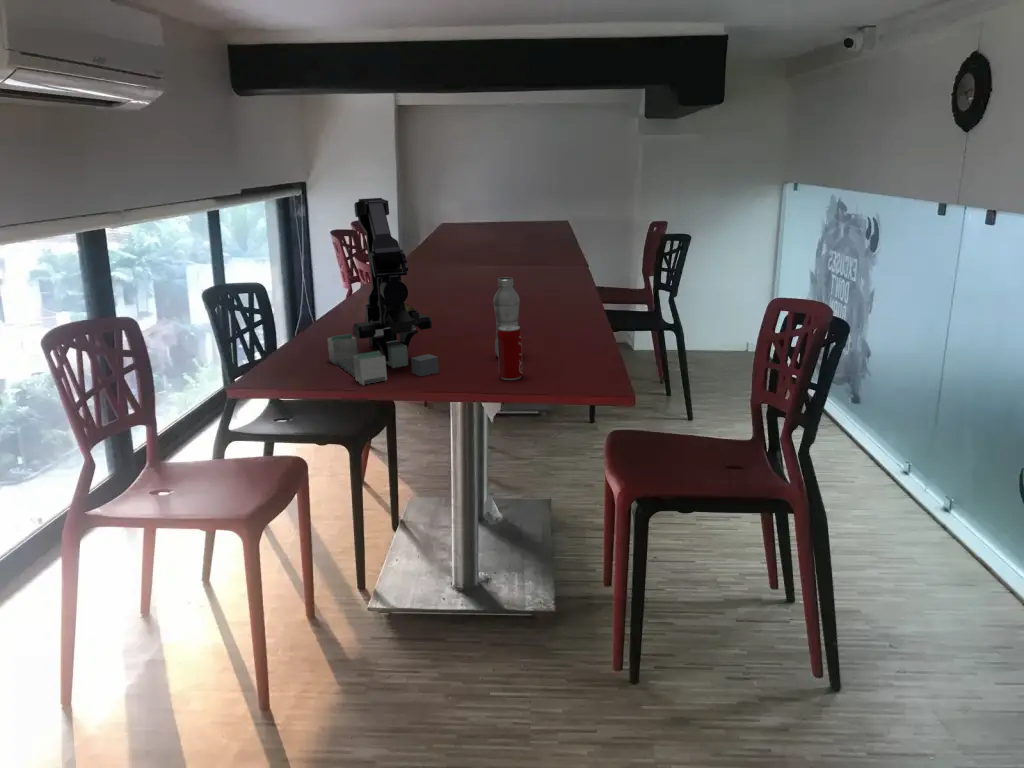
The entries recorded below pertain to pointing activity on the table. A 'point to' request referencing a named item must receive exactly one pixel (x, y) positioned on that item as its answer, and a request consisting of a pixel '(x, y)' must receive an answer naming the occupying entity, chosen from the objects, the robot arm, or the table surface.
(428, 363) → the block
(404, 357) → the block
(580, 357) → the table surface
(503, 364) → the soda can
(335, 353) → the rail
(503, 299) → the plastic bottle
